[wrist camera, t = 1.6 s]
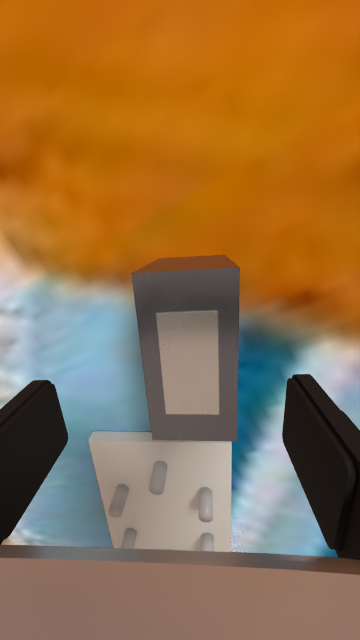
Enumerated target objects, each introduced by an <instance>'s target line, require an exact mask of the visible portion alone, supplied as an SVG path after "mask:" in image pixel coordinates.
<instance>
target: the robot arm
mask: <svg viewBox="0 0 360 640" xmlns="http://www.w3.org/2000/svg"><path fill="white" fill-rule="evenodd" d="M282 437H283V442H284V445H285V448H286V450H287V452H288V455H289V457H290V459H291V462H292V464H293V466H294V469H295V471H296V473H297V476H298V478H299V480H300V483H301V485H302V487H303V490H304V492H305V494H306V497H307V499H308V501H309V504H310V506H311V508H312V511H313V513H314V515H315V517H316V520H317V522H318V524H319V527H320V529H321V531H322V534H323V536H324V538H325V541H326V543H327V545H328V546H329V548H330V549H335V550H336V553H337V555H338V557H339V558H337V557H319V556H302V555H285V554H267V553H241V552H215V551H189V550H161V549H130V548H99V547H66V546H27V545H1V543H2V542H3V540H4V539H6V538H8V537H9V536H10V534H11V533H12V531H13V530H14V528H15V527H16V525H17V523H18V522H19V520H20V519H21V517H22V515H23V514H24V512H25V510H26V509H27V507H28V506H29V504H30V502H31V501H32V499H33V498H34V496H35V494H36V493H37V491H38V489H39V488H40V486H41V485H42V483H43V481H44V480H45V478H46V477H47V475H48V473H49V472H50V470H51V468H52V467H53V465H54V464H55V462H56V460H57V459H58V457H59V456H60V454H61V452H62V451H63V449H64V447H65V446H66V444H67V441H68V433H67V430H66V426H65V422H64V418H63V415H62V411H61V407H60V403H59V400H58V396H57V392H56V388H55V385H54V384H51V382H50V381H49V380H35V381H32V382H31V383H29V384H28V385H27V386H26V387H25V388H24V389H23V390H22V391H20V392H19V393H18V394H17V395H16V396H15V397H14V398H13V399H11V400H10V401H9V402H8V403H7V404H6V405H5V406H4V407H2V408H1V409H0V640H360V430H359V429H358V428H357V427H356V426H355V424H354V423H353V422H352V421H351V420H350V419H349V417H348V416H347V415H346V414H345V413H344V412H343V411H341V410H340V409H339V408H338V407H337V406H336V404H335V403H334V402H333V401H332V400H331V398H330V397H329V396H328V395H327V394H326V392H325V391H324V390H323V389H322V388H321V386H320V385H319V384H318V383H317V382H316V381H315V379H314V378H313V377H312V376H311V375H310V374H296V375H293V376H292V378H289V379H288V380H287V389H286V400H285V411H284V422H283V433H282Z"/></svg>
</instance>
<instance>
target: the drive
mask: <svg viewBox="0 0 360 640" xmlns="http://www.w3.org/2000/svg"><path fill="white" fill-rule="evenodd" d="M131 274H132V282H133V289H134V297H135V305H136V313H137V321H138V329H139V337H140V345H141V353H142V361H143V369H144V377H145V385H146V393H147V400H148V408H149V416H150V424H151V432H152V440H179V441H231V442H237V399H238V339H239V280H240V267H238V266H237V265H236V264H235V263H234V262H232V261H231V260H230V259H229V258H228V257H226V256H225V255H212V256H194V257H177V258H160V259H158V260H156V261H154V262H152V263H150V264H148V265H146V266H144V267H142V268H140V269H139V270H137V271H135V272H133V273H131Z"/></svg>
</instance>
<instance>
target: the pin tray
mask: <svg viewBox="0 0 360 640" xmlns="http://www.w3.org/2000/svg"><path fill="white" fill-rule="evenodd" d="M88 442H89V446H90V450H91V454H92V459H93V463H94V467H95V471H96V476H97V480H98V484H99V488H100V493H101V497H102V501H103V505H104V510H105V514H106V518H107V522H108V527H109V531H110V535H111V540H112V544H113V548H130V549H161V550H189V551H215V552H231V454H232V443H231V441H179V440H152V432H111V431H93V433H92V435H91V436H90V438H89V440H88Z"/></svg>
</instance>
